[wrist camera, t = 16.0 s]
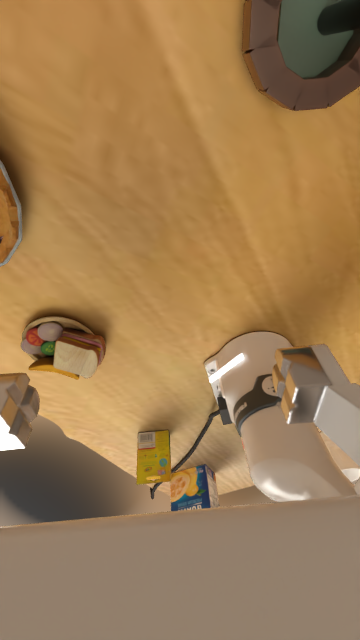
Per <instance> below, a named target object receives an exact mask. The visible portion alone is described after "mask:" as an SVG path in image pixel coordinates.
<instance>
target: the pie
mask: <svg viewBox="0 0 360 640" xmlns="http://www.w3.org/2000/svg"><path fill="white" fill-rule="evenodd" d="M21 241H22V214H21V204H20V202H19V199H18V197H17V195H16V192H15V190H14V188H13V185H12V183H11V181H10V178H9V176H8V174H7V171H6V169H5V167H4V165H3V163H2V162H1V161H0V267H1V266H2V265H4V264H6V263H8V262H9V260H10V258H11V257H12V255H13V253H14V252H15V250H16V249H17V247H18V245H19V244H20V242H21Z"/></svg>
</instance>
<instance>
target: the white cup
mask: <svg viewBox="0 0 360 640" xmlns="http://www.w3.org/2000/svg"><path fill="white" fill-rule="evenodd" d="M320 435H321V437H322V439H323V441H324V443H325V445H326V447H327V448H328V450H329V452H330V454H331V456H332V458H333V459H334V461H335V463H336V464H337V466H338V467H339V468H340V470H341V471H342V472H343V474H344V475H345V476H346V477H347V478H348V479H349V480H350V481H351V482H353V481H355V480H358V479H359V477H360V466H359V465H358V464H357V463H355V462H354V461H353V460H352V459H351V458H350V457H349V456H348V455H347V454H346V453H345V452H344V451H343V450H342V449H340V448H339V447H338V446H337V445H336V444H335V443H334V442H333V441H332V440H331V439H330V438H329V437H328V436H327V435H325V434H324V433H323V432H320Z"/></svg>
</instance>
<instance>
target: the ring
mask: <svg viewBox="0 0 360 640" xmlns="http://www.w3.org/2000/svg"><path fill="white" fill-rule="evenodd" d="M246 1H247V2H246V3H245V4H244V16H243V38H242V51H246V52H245V53H243V57H244V60H245V62H246V65H247V67H248V69H249V72H250V74H251V77H252V79H253V82H254V84H255V87H256V89H259V90H258V91H259V92H260V93H262V94H263V95H265V96H266V97H268V98H269V99H271V100H272V101H274V102H275V103H277V104H278V105H280V106H281V107H284V108H287V109H290V110H294V111H299V110H310V109H322V108H327V106H328V107H330V106H332V105H333V104H335V103H336V102H337V101H339V100H340V99H342V98H343V97H345V96H346V95H348V94H349V93H350V92H352V91H353V90H355V89H356V88H358V87H359V86H360V29H356V30H354V31H353V35H352V37H351V38H350V40H349V42H348V43H347V45H346V46H345V48H344V50H343V51H342V53H341V55H340V56H339V58H338V60H337V61H336V62H334V63H333V64H332V65H330V66H329V67H328V68H326V69H325V70H323V71H322V72H321V73H319V74H318V75H317V76H315V77H305V78H302V77H300V76H299V75H298V74H296V73H295V72H294V71H292V70H291V69H289V68H288V67H287V66H286V65H285V62H284V59H283V56H282V53H281V50H280V47H279V44H278V41H277V32H278V22H279V12H280V4H281V2H282V0H246Z"/></svg>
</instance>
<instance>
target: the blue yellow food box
mask: <svg viewBox="0 0 360 640" xmlns="http://www.w3.org/2000/svg"><path fill="white" fill-rule="evenodd" d="M170 479H171V481H170V486H171V511H181V510H193V509H204V508H216V507H219V500H218V493H217V486H216V478H215V473H214V472H213V471H212V470H211V469H210V468H209V467H208V466H207V465H206V464H204V465H200V466H197V467H193V468H190V469H186V470H183V471H179V472H176V473H173V474H171V477H170Z"/></svg>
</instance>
